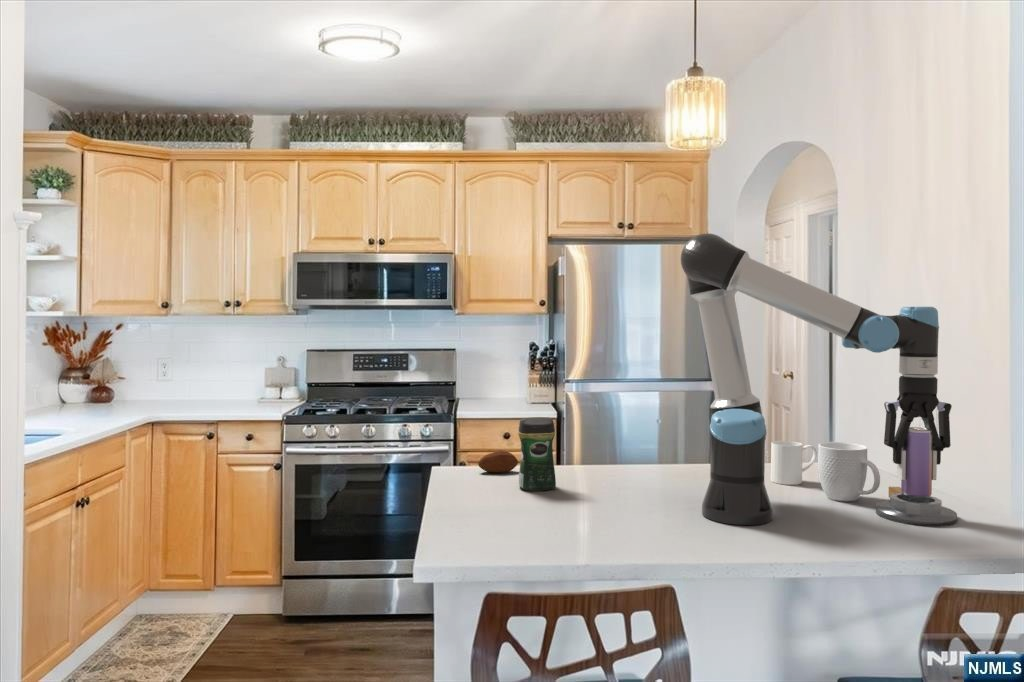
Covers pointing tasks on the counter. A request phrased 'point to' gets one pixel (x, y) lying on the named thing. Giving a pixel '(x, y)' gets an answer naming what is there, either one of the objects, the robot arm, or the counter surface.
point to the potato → (498, 462)
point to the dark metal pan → (915, 510)
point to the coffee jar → (536, 454)
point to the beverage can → (918, 463)
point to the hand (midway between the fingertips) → (916, 478)
